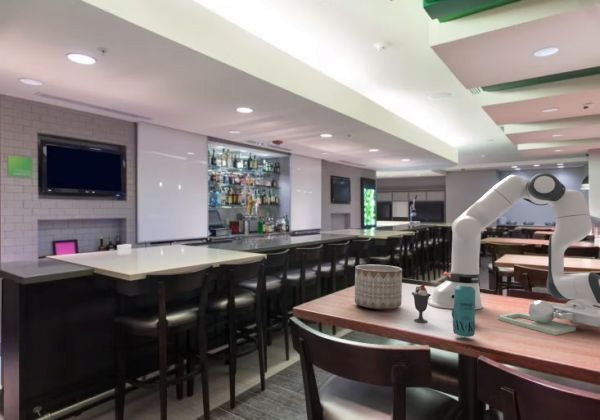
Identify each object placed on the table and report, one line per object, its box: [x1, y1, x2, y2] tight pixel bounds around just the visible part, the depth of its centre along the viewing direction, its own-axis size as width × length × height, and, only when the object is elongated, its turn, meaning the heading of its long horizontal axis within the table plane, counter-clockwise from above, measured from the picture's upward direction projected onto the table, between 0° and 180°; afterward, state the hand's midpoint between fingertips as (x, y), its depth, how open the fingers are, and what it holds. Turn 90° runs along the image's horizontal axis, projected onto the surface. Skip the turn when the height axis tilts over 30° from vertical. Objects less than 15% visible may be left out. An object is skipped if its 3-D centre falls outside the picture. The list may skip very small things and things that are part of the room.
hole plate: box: [497, 312, 577, 336], centre depth 134 cm, size 20×13×1 cm, turn 28°
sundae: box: [411, 280, 432, 324], centre depth 136 cm, size 7×7×15 cm
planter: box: [354, 264, 403, 311], centre depth 156 cm, size 19×19×16 cm
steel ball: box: [528, 299, 555, 323], centre depth 132 cm, size 8×8×8 cm
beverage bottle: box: [452, 275, 476, 338], centre depth 118 cm, size 6×7×20 cm
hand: (557, 316), depth 127 cm, fingers closed
